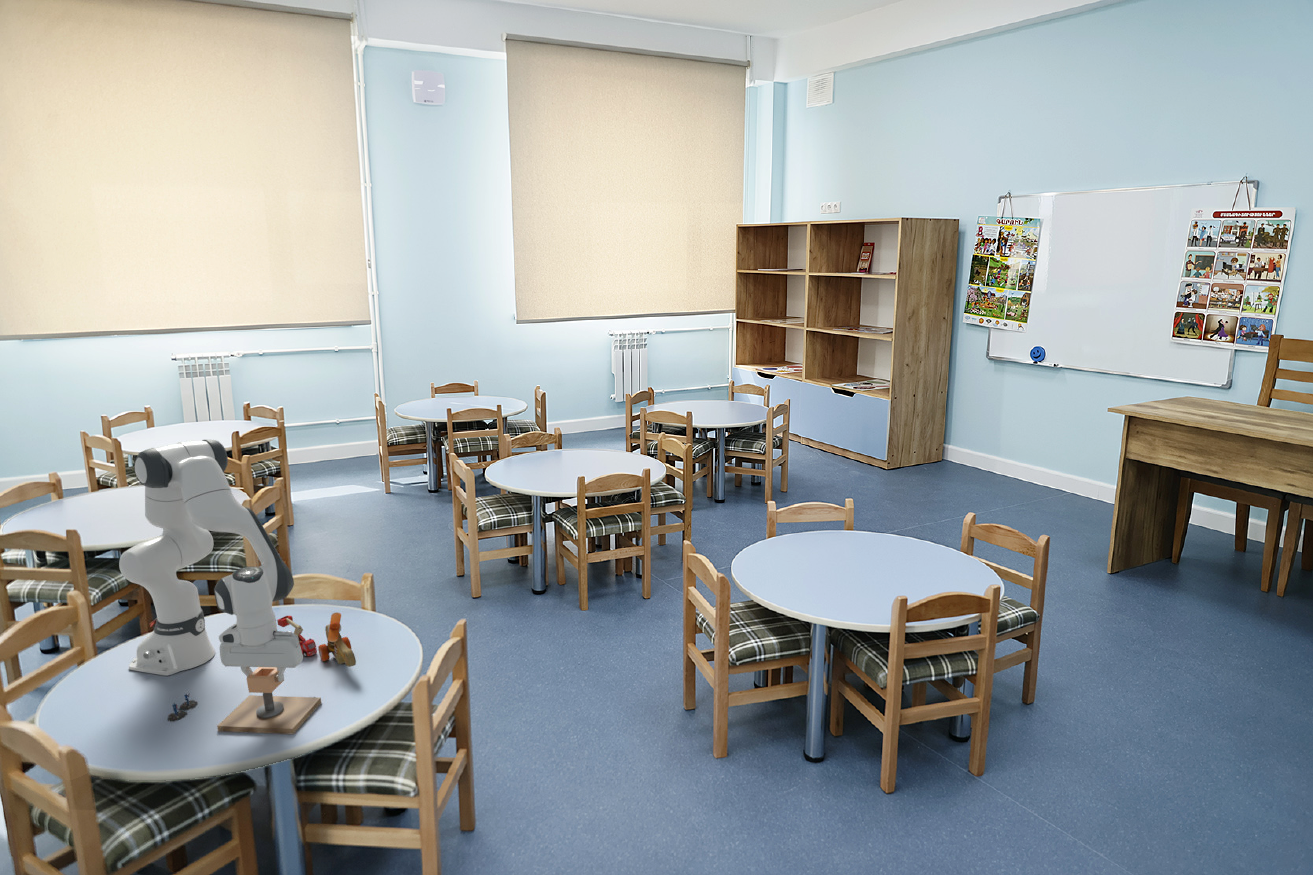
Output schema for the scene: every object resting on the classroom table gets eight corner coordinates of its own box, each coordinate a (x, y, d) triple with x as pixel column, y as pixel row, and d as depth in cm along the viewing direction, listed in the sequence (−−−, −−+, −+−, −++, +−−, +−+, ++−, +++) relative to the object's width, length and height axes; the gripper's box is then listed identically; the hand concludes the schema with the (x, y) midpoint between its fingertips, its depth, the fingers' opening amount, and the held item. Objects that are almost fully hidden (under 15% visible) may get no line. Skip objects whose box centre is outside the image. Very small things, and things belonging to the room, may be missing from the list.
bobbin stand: (218, 731, 205) (213, 704, 203) (250, 700, 219) (246, 674, 217) (293, 734, 203) (289, 706, 201) (321, 702, 217) (317, 676, 215)
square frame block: (248, 692, 206) (246, 678, 205) (262, 679, 212) (260, 665, 211) (271, 692, 206) (269, 678, 205) (284, 680, 211) (282, 666, 210)
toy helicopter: (346, 647, 246) (340, 605, 242) (370, 674, 230) (364, 630, 227) (318, 656, 241) (311, 613, 238) (340, 685, 225) (334, 639, 222)
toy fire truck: (309, 658, 240) (304, 628, 238) (280, 647, 247) (276, 618, 245) (318, 653, 243) (314, 623, 240) (290, 642, 250) (286, 613, 248)
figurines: (180, 722, 210) (177, 708, 209) (162, 722, 210) (159, 707, 209) (203, 701, 220) (200, 686, 218) (186, 701, 220) (183, 686, 219)
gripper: (303, 625, 207) (311, 674, 210) (227, 624, 209) (236, 673, 213) (290, 637, 201) (298, 688, 204) (212, 636, 203) (221, 686, 206)
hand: (266, 680), depth 208 cm, fingers closed on square frame block, 6 cm apart
